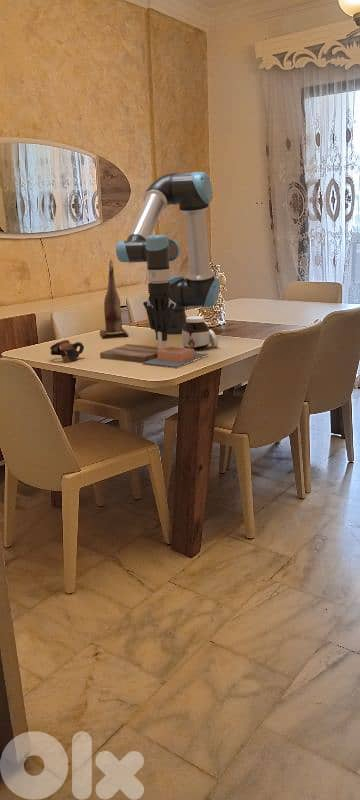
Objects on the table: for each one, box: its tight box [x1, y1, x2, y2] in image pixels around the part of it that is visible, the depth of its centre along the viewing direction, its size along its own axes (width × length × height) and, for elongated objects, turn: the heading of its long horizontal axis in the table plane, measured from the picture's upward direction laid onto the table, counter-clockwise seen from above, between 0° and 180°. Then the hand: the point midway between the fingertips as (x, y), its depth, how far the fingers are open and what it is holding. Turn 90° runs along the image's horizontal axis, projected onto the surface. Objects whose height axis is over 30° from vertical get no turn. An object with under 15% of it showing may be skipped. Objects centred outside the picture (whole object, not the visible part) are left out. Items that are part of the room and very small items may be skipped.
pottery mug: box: [49, 339, 85, 364], centre depth 229 cm, size 12×10×8 cm
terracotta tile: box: [157, 346, 195, 362], centre depth 220 cm, size 8×10×3 cm
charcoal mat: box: [142, 352, 209, 368], centre depth 221 cm, size 20×14×1 cm
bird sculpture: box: [99, 259, 129, 339], centre depth 266 cm, size 11×12×32 cm
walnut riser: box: [99, 343, 159, 364], centre depth 230 cm, size 16×20×2 cm
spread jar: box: [181, 315, 219, 351], centre depth 238 cm, size 12×11×12 cm
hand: (162, 349), depth 223 cm, fingers closed
